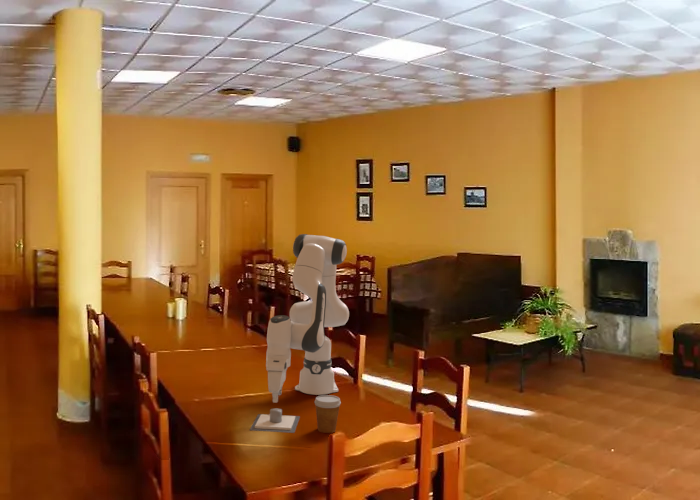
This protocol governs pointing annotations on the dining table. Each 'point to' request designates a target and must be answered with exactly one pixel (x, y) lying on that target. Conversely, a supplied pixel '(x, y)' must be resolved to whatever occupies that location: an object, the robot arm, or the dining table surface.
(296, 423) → the mat
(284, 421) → the lid
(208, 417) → the dining table surface
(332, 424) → the disposable coffee cup
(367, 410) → the dining table surface
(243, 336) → the dining table surface
